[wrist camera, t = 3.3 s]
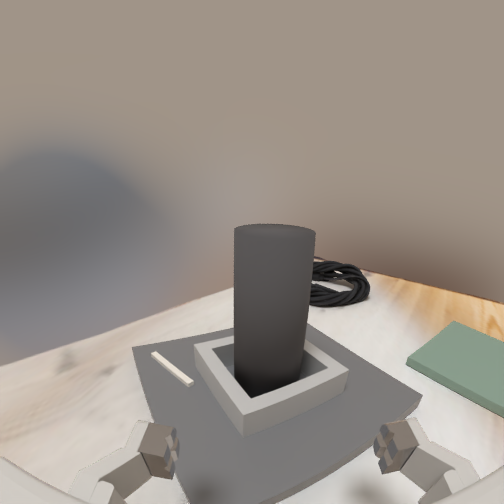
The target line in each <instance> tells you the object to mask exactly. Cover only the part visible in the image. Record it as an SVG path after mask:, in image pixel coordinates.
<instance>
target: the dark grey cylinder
mask: <svg viewBox="0 0 504 504" xmlns="http://www.w3.org/2000/svg"><path fill="white" fill-rule="evenodd" d="M315 235H316V233H315V232H314V231H313V230H311V229H308V228H304V227H299V226H292V225H283V224H251V225H243V226H239V227H236V228H235V230H234V379H235V380H236V381H237V382H238V384H239V385H240V386H241V387H242V389H243V390H244V391H245V392H246V393H247V395H248V396H249V397H250V398H254V397H257V396H260V395H263V394H266V393H268V392H271V391H274V390H276V389H279V388H282V387H284V386H287V385H289V384H292V383H294V382H297V381H299V378H300V371H301V364H302V358H303V350H304V343H305V335H306V328H307V319H308V311H309V302H310V292H311V282H312V272H313V261H314V247H315Z"/></svg>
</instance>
